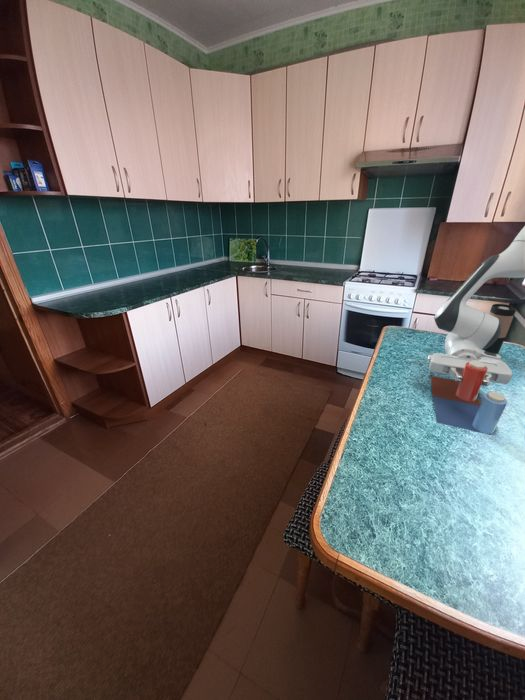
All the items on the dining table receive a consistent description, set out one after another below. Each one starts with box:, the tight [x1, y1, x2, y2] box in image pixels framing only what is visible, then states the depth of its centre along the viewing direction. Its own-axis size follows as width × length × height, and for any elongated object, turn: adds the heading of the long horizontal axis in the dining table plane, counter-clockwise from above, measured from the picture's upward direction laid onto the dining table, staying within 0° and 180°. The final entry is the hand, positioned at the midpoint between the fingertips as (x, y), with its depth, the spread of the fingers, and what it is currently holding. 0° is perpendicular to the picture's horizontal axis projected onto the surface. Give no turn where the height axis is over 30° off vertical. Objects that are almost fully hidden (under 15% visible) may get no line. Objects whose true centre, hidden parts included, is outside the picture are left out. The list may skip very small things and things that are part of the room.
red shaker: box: [456, 361, 488, 401], centre depth 81 cm, size 5×5×11 cm
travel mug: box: [484, 303, 517, 355], centre depth 115 cm, size 8×8×20 cm
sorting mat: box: [430, 375, 492, 436], centre depth 91 cm, size 13×27×1 cm, turn 156°
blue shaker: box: [472, 391, 508, 435], centre depth 78 cm, size 5×5×11 cm
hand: (472, 381), depth 80 cm, fingers closed on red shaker, 5 cm apart
